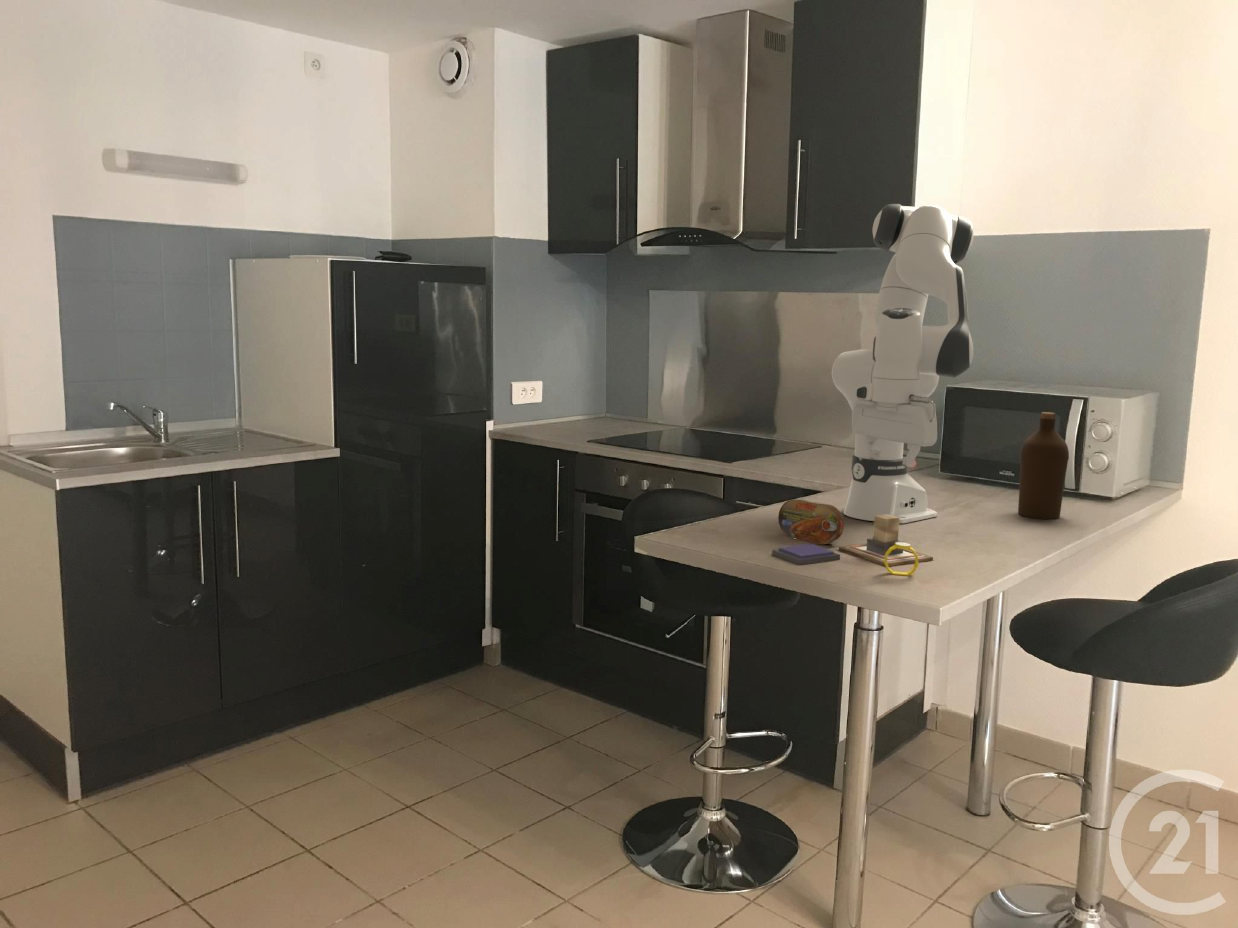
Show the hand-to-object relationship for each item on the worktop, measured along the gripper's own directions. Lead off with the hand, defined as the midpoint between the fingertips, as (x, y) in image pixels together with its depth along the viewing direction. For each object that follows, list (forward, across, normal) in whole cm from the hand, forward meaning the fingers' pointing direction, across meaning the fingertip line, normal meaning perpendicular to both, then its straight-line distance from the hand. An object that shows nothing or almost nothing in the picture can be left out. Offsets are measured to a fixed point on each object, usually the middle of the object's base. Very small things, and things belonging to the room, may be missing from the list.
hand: (890, 462), depth 193 cm
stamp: (+18, 0, 0) cm, 18 cm away
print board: (+19, 0, 0) cm, 19 cm away
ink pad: (+18, +5, +16) cm, 25 cm away
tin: (+19, +16, +6) cm, 26 cm away
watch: (+19, -12, +8) cm, 24 cm away
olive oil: (+20, +14, -63) cm, 67 cm away
